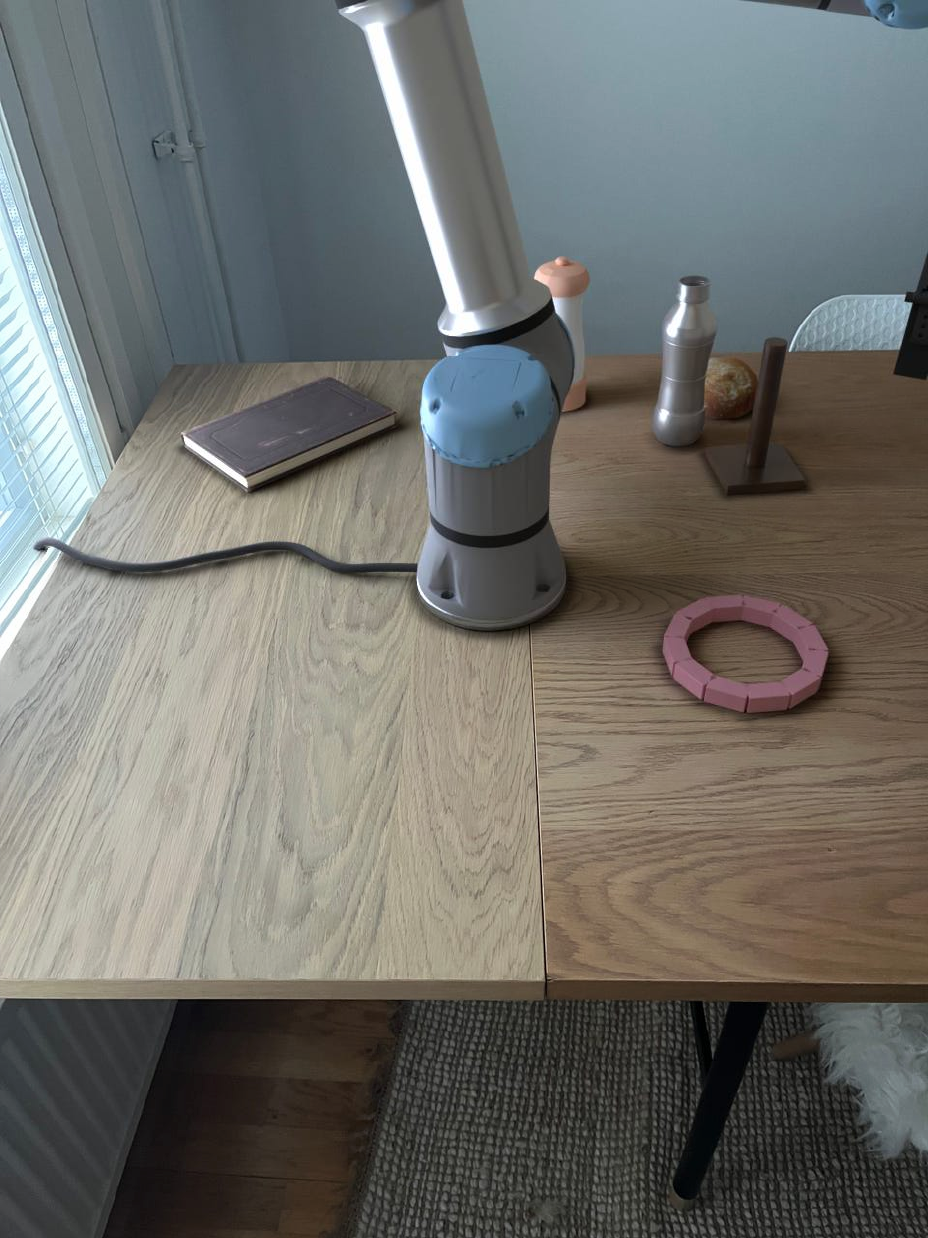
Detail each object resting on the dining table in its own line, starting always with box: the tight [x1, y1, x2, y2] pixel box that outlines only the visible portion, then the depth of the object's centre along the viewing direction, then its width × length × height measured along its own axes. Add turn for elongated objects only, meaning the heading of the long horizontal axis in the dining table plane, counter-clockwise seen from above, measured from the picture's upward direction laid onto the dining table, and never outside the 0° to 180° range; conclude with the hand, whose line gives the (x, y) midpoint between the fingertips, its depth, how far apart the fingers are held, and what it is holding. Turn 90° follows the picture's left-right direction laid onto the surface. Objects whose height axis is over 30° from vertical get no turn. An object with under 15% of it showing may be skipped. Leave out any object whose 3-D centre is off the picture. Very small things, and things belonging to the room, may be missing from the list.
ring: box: [662, 593, 829, 714], centre depth 87 cm, size 14×14×2 cm
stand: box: [705, 336, 806, 496], centre depth 108 cm, size 9×9×16 cm
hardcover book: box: [180, 375, 399, 493], centre depth 123 cm, size 16×23×2 cm
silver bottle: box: [651, 274, 718, 447], centre depth 113 cm, size 6×7×20 cm
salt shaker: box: [533, 255, 591, 413], centre depth 123 cm, size 7×7×19 cm
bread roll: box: [704, 356, 758, 420], centre depth 125 cm, size 10×10×8 cm
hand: (921, 346), depth 87 cm, fingers open, 13 cm apart
